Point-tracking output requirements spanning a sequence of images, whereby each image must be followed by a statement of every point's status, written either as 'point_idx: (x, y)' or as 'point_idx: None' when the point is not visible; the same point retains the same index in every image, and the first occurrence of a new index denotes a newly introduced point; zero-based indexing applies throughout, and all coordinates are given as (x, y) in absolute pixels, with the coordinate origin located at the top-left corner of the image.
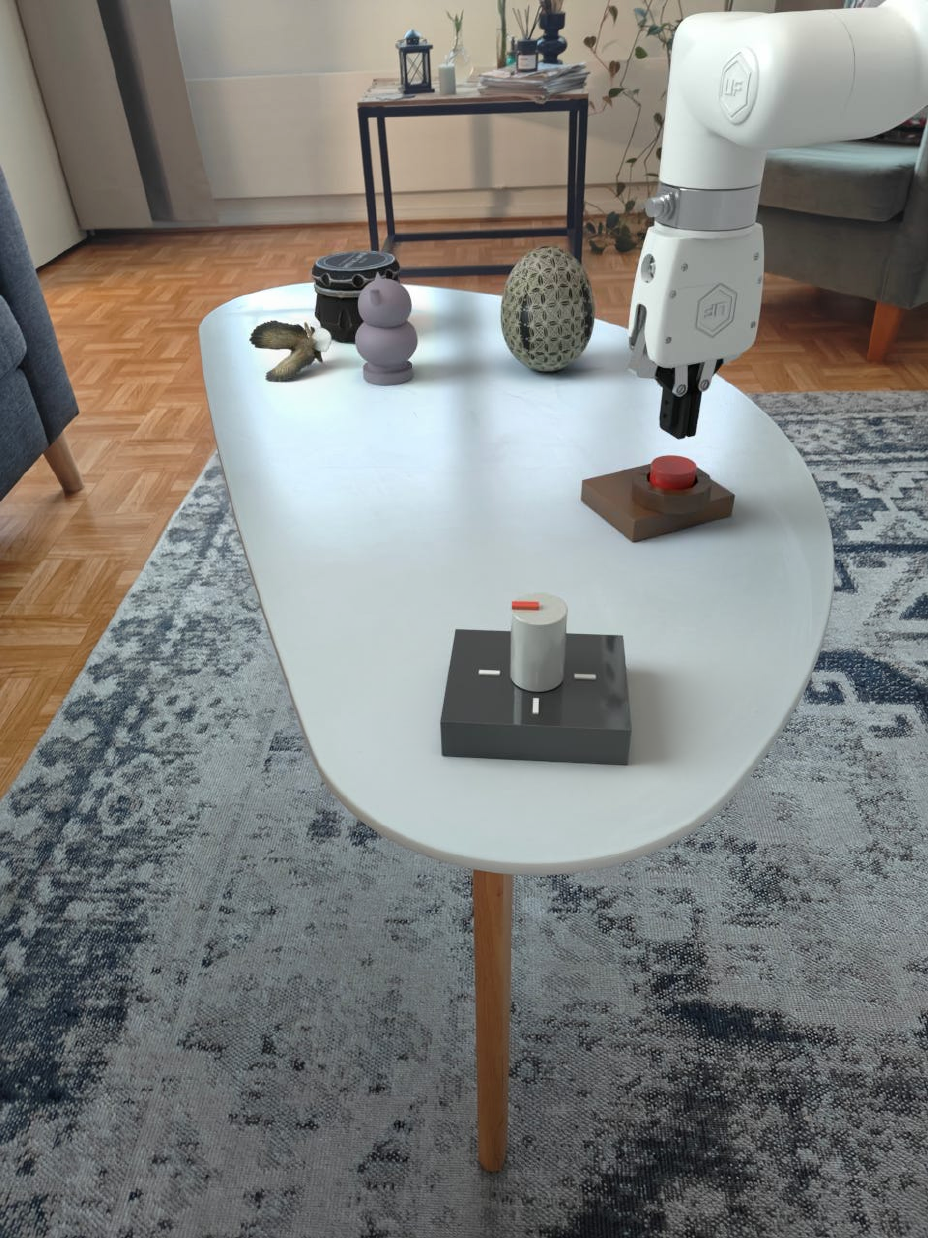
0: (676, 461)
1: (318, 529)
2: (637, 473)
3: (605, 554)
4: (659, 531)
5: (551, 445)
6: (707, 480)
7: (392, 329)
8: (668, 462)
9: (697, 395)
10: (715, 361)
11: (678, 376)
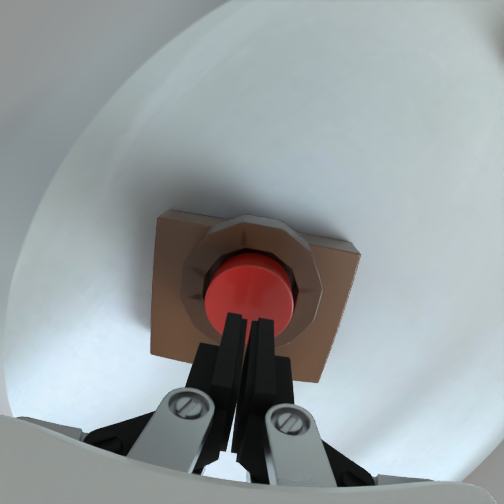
0: (235, 312)
1: (500, 413)
2: (286, 338)
3: (400, 242)
4: (306, 235)
5: (236, 454)
6: (203, 249)
7: None
8: (250, 318)
9: (227, 384)
10: (131, 457)
11: (317, 461)
